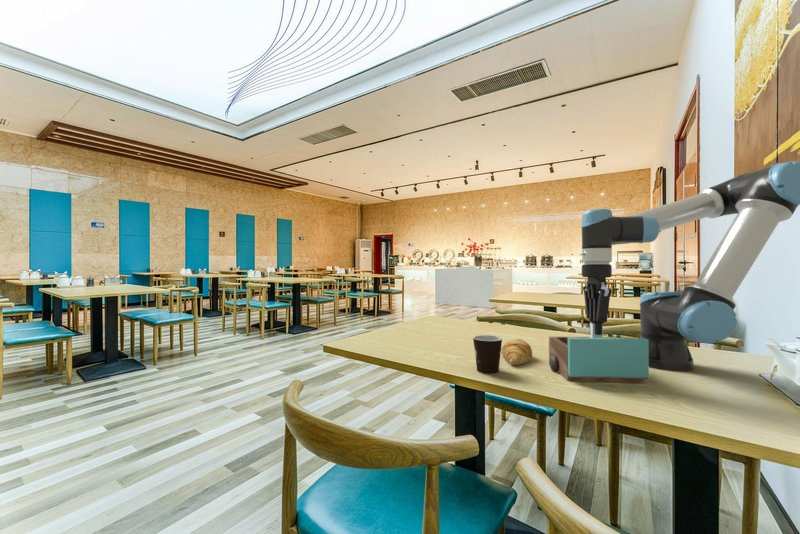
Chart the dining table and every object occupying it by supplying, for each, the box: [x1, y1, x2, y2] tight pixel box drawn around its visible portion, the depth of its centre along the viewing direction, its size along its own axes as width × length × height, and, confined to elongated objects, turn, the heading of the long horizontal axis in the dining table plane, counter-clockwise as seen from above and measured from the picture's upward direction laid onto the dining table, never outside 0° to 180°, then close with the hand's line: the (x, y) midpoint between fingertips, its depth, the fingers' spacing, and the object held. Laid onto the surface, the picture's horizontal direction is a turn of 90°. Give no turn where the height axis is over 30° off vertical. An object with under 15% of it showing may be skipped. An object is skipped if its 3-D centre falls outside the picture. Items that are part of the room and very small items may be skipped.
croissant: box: [501, 338, 533, 366], centre depth 119 cm, size 21×10×8 cm, turn 156°
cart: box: [548, 336, 646, 384], centre depth 103 cm, size 23×16×9 cm
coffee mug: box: [472, 334, 503, 375], centre depth 107 cm, size 12×9×10 cm
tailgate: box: [568, 337, 650, 380], centre depth 94 cm, size 20×2×11 cm, turn 84°
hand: (596, 345), depth 100 cm, fingers closed
